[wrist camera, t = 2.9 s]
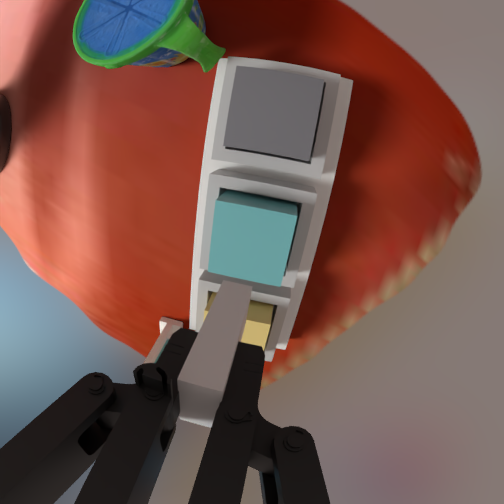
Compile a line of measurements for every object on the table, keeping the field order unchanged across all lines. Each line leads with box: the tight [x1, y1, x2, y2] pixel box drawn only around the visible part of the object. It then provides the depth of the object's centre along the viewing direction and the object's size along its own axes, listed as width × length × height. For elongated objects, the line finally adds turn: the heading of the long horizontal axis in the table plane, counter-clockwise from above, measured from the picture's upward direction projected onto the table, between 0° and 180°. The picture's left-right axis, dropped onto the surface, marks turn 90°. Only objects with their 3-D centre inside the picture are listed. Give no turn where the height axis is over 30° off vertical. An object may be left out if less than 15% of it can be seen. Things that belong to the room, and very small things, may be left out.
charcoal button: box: [223, 66, 324, 161], centre depth 18 cm, size 6×6×4 cm
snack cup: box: [73, 0, 226, 72], centre depth 16 cm, size 16×10×10 cm
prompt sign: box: [143, 316, 183, 364], centre depth 32 cm, size 3×6×9 cm, turn 171°
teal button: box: [208, 190, 297, 287], centre depth 23 cm, size 6×6×4 cm
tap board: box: [189, 56, 353, 362], centre depth 26 cm, size 12×30×5 cm, turn 171°
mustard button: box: [203, 292, 273, 351], centre depth 27 cm, size 6×6×4 cm
